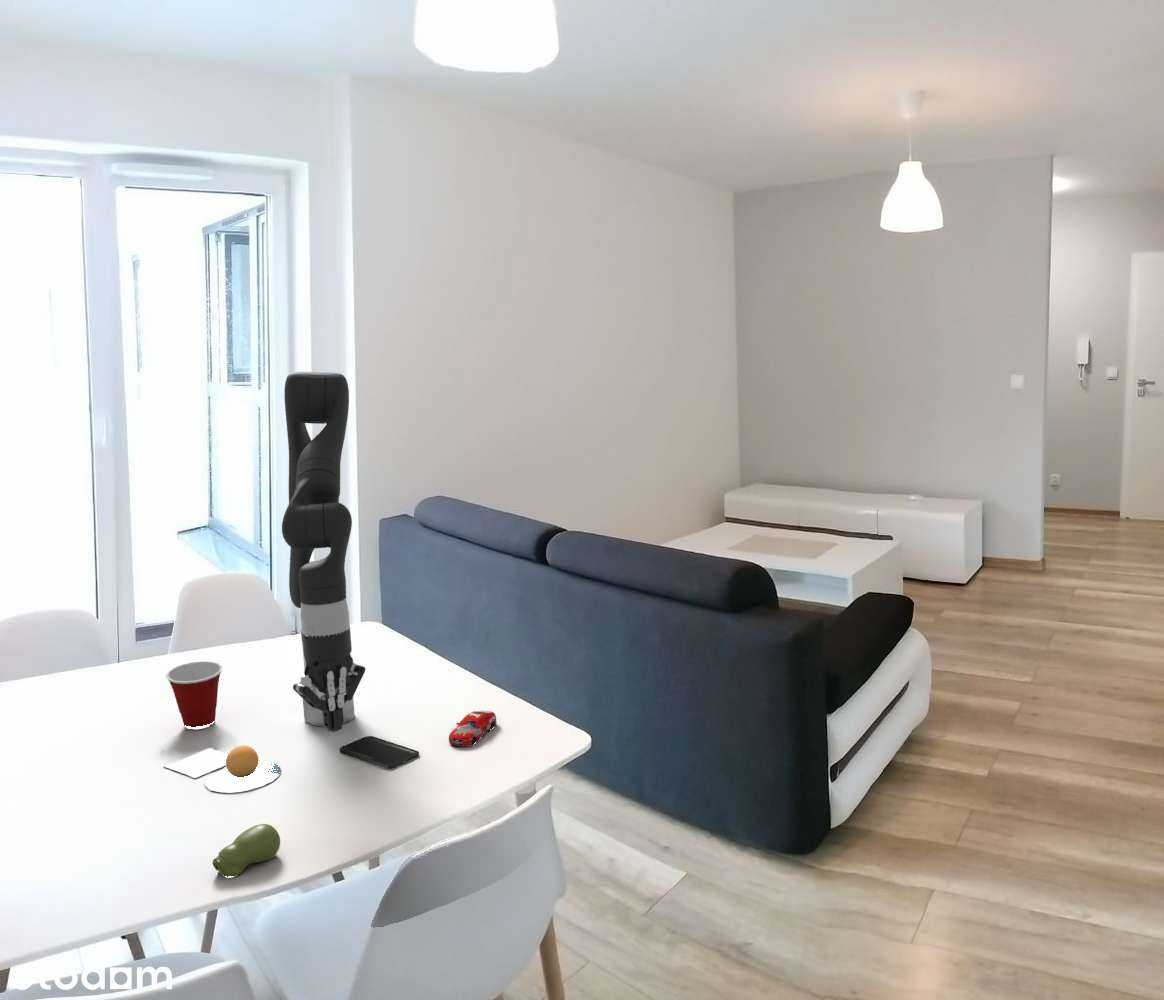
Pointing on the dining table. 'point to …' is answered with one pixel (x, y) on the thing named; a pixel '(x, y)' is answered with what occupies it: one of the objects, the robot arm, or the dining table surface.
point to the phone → (379, 752)
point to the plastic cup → (196, 691)
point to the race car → (472, 728)
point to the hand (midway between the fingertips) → (334, 729)
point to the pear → (248, 850)
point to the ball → (242, 761)
